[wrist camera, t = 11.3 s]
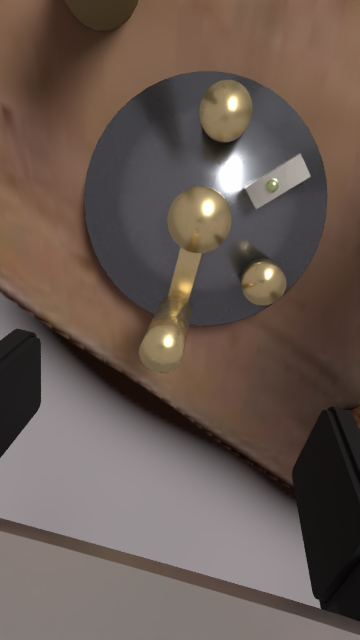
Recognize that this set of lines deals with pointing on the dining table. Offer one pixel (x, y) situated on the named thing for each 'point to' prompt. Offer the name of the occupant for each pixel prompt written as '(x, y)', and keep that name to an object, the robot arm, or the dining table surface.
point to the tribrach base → (213, 171)
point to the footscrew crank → (184, 272)
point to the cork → (102, 12)
